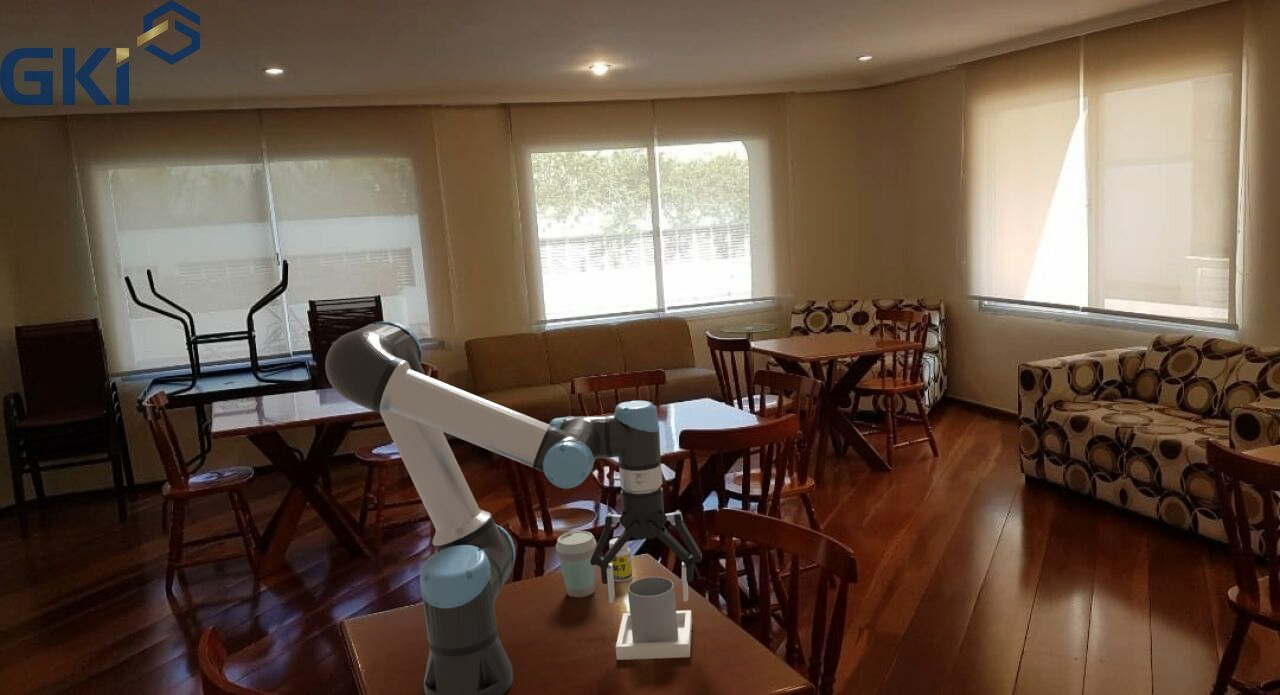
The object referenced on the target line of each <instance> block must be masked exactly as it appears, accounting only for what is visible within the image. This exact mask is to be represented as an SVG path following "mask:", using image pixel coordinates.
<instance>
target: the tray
mask: <svg viewBox="0 0 1280 695" xmlns="http://www.w3.org/2000/svg"><path fill="white" fill-rule="evenodd" d="M676 615H677V626H678V638H677V640H676V641H675V642H657V643H634V641H633V638H632V627H631V617H630V612H623V613H622V618H621V622H620V625H619V631H618V635H617V638H616V640H617V641H616V643H615V652H616V660H617V661H619V660H620V661H623V660H649V659H650V660H651V659H652V660H653V659H676V658H677V659H679V658H690V657H691V645H692V632H691V631H692V629H693V617H692V610H691V609H688V610H687V609H685V610H676Z"/></svg>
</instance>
